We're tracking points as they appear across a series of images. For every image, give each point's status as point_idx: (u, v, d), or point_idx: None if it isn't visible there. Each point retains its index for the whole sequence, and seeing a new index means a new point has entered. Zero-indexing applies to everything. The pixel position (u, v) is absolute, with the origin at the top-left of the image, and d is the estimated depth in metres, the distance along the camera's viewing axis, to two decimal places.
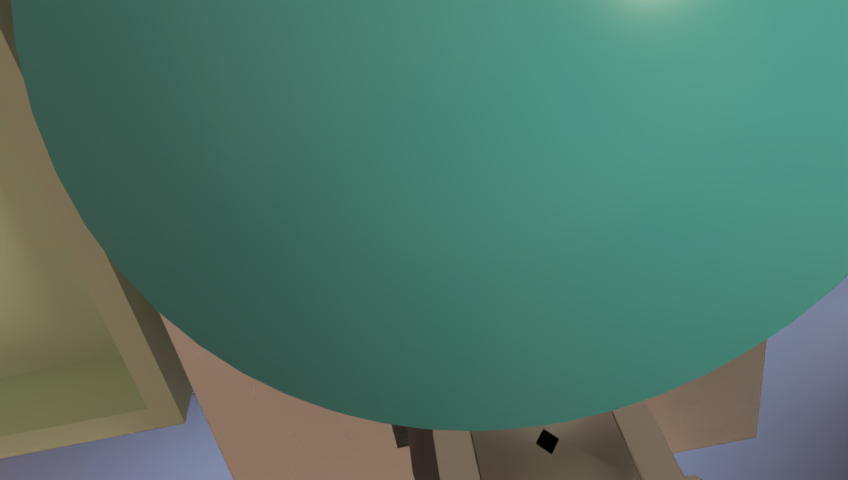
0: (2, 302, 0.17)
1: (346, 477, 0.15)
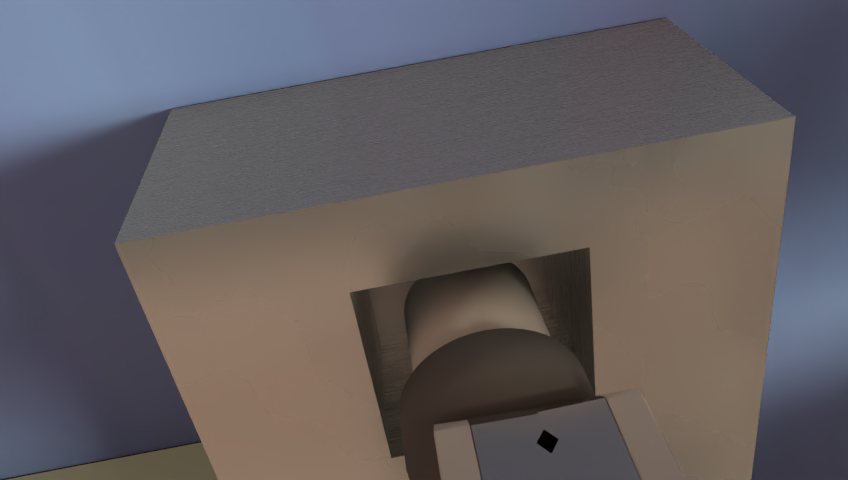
0: None
1: None
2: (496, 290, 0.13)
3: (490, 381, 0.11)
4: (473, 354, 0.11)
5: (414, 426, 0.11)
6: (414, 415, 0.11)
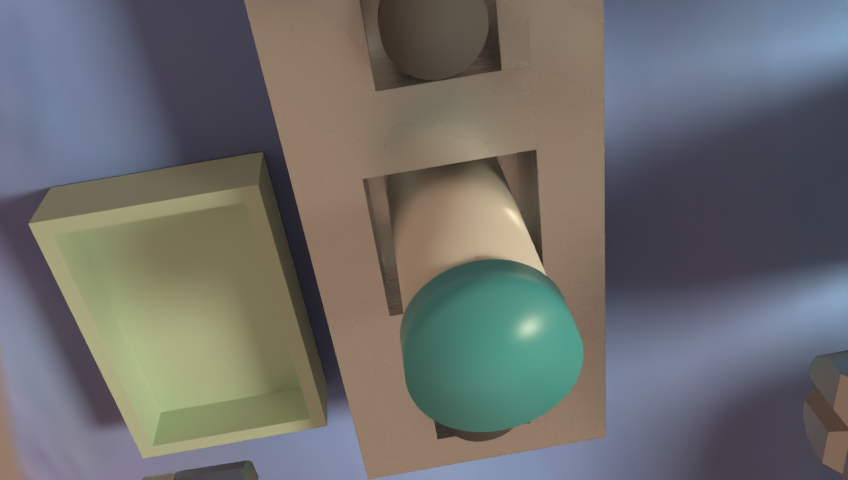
0: (234, 363, 0.33)
1: (412, 452, 0.31)
2: None
3: None
4: None
5: (384, 5, 0.21)
6: (385, 1, 0.21)
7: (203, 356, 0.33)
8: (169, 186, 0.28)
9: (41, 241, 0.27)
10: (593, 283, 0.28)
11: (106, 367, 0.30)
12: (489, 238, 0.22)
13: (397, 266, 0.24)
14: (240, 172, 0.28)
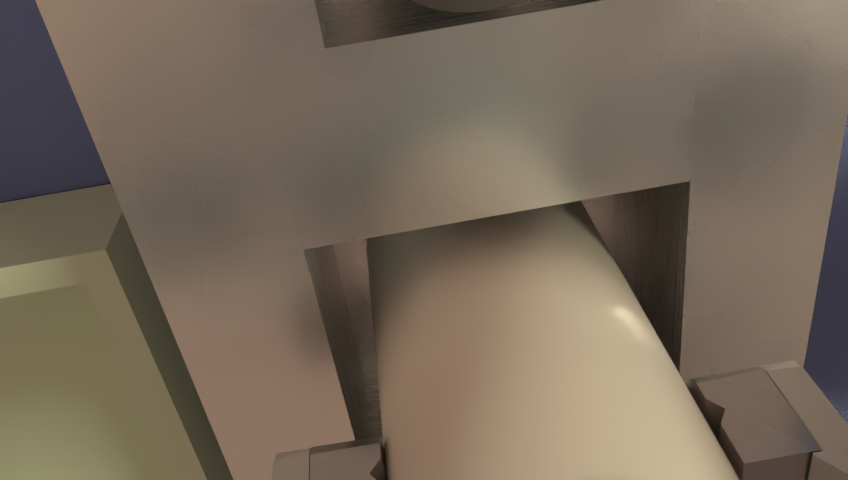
0: None
1: None
2: None
3: None
4: None
5: None
6: None
7: None
8: None
9: None
10: None
11: None
12: (618, 425, 0.08)
13: (383, 444, 0.11)
14: (82, 221, 0.14)
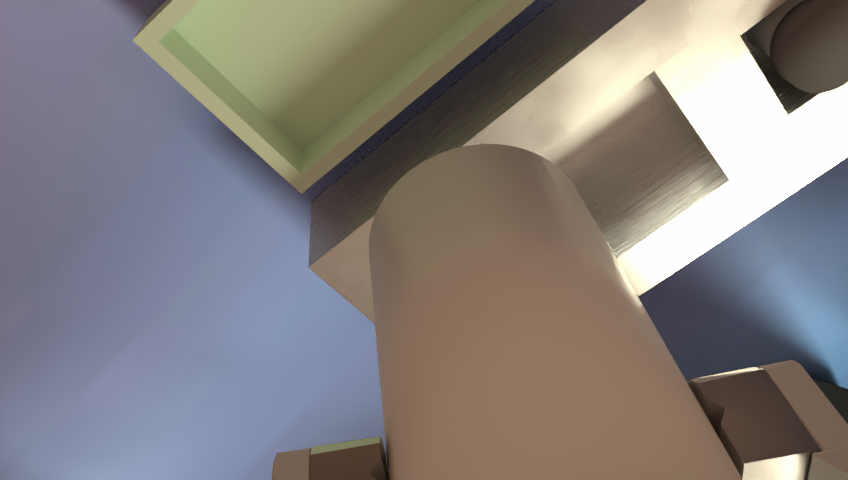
0: (288, 65, 0.29)
1: (367, 283, 0.29)
2: None
3: None
4: None
5: (837, 2, 0.24)
6: (835, 1, 0.24)
7: (278, 30, 0.28)
8: None
9: None
10: None
11: None
12: (619, 422, 0.08)
13: (385, 442, 0.11)
14: None
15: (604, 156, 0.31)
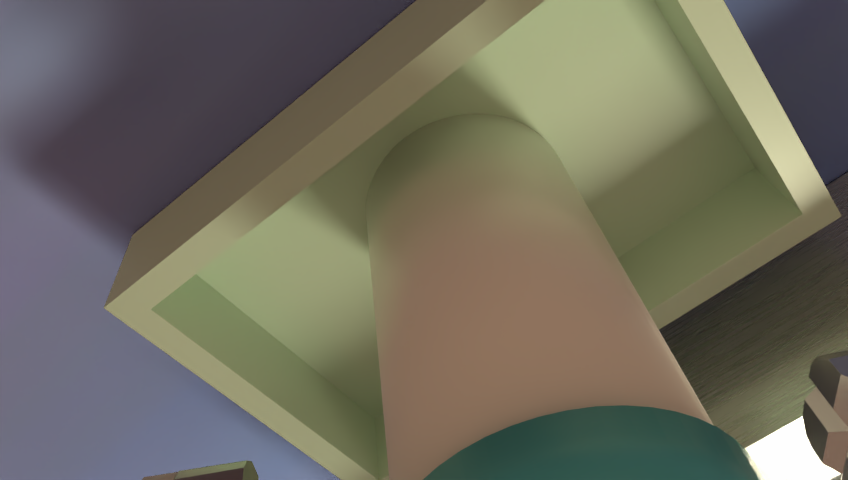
0: (362, 307, 0.18)
1: None
2: None
3: None
4: None
5: None
6: None
7: (350, 259, 0.17)
8: None
9: None
10: None
11: (322, 153, 0.13)
12: (586, 339, 0.10)
13: (380, 375, 0.12)
14: None
15: None
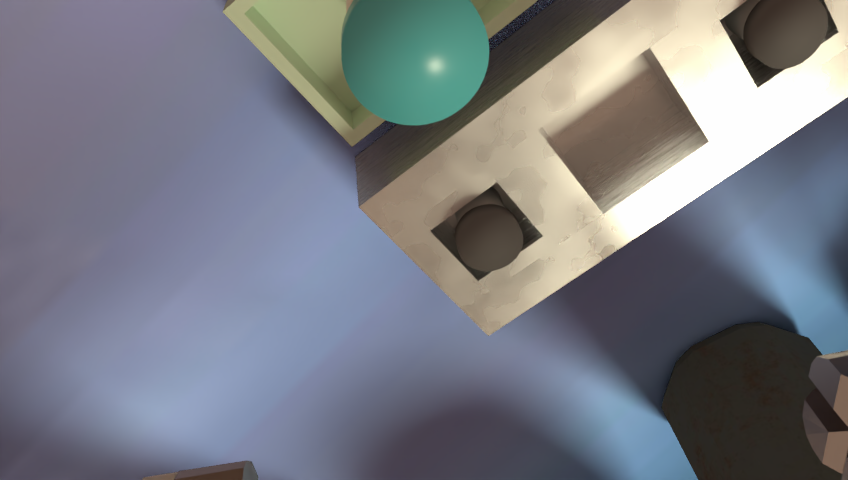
0: None
1: (406, 222, 0.35)
2: None
3: (821, 8, 0.31)
4: None
5: None
6: None
7: (337, 8, 0.34)
8: None
9: None
10: (620, 239, 0.37)
11: None
12: None
13: None
14: None
15: (605, 122, 0.37)
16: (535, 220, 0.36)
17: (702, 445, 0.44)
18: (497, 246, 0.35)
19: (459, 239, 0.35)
